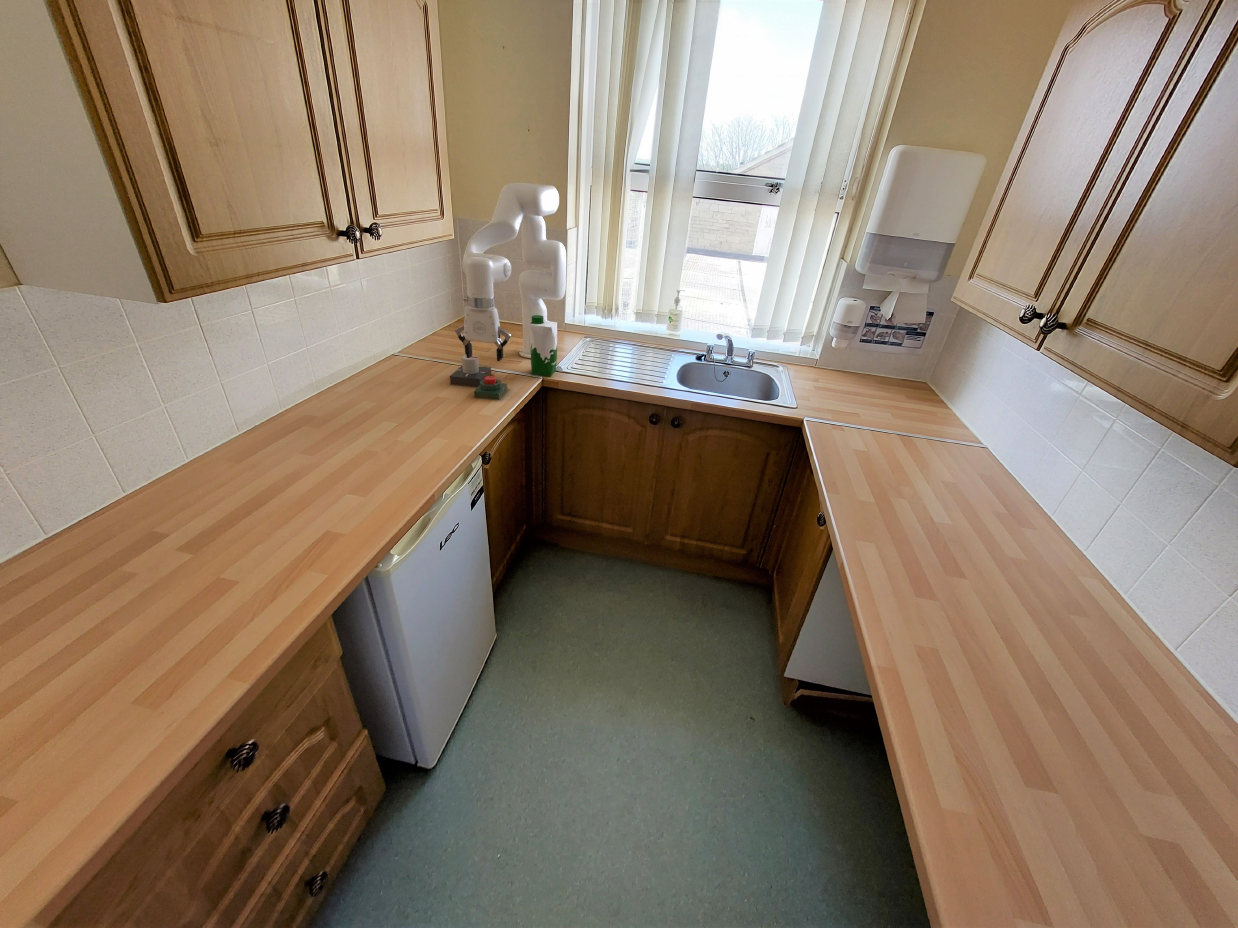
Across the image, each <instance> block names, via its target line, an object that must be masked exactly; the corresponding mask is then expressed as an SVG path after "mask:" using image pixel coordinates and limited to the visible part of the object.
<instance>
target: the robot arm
mask: <svg viewBox="0 0 1238 928" xmlns="http://www.w3.org/2000/svg"><path fill="white" fill-rule="evenodd" d="M559 205H560V195H559V192H558V190H557V188H556V186H554V185H551V184H544V183H542V184H541V183H532V182H520V181H519V182H513V183H507V184H505V185H504V186H503V187H502V188H501V190H500V193H499V195H498V199H497V202H496V205H495V208H494V211H493V213H492V217H491V220H490V222H488V223H487V224H485V225H483V226H482V227H480V228H479V229H478V230H477V231H476V232H475V233H473V235H472V236H471V237H470V238H469V240H468V242H467V244H466V247H465V250H464V254H463V256H462V262H461V263H462V265H461V266H462V271H463V273H464V275H465V278H466V292H467V293H466V294H467V295H466V296H463V297H462V299H463V302H464V303H465V302H466V303H467V305H466V306H465V309H464V317H463V318H464V320H463V325H462V326H460V327H457V328H455V329H454V333H455V334H456V336H457V337H458V340H459V341H460V342H461V343H462V345H464V355H467V358H470V357H471V356H472V355H473V345H472V342H477V343H486V344H494V345H495V346H496V347H497V348H496V350H495V351H496V362H501V361H502V360H503V359H504V347H505V346H506V345H507V344H508V343H509V341H510V339H511V337H512V334H511V333H510V332H509V331H507V330H505V329H503V328H501V323H500V317H499V311H498V309H497V306H495V294H494V293H495V291H494V283H504V282H506V281H507V280H508V279H509V278H510V277H511V274H512V264H511V261H509V259H508V258H506V257H505V256H502V255H497V254H489V253H485V252H486V251H487V250H489V249H491V248H492V247H495V246H499V245H502V244H504V243H508V242H510V241H512V240H514V239H516V237H517V236H518V235H519V234H518V233H519V230H520V229H521V231H520V232H521V256H522V261H523V263H524V264H525V265H526V266H528V267H534V268H542V269H549V270H550V272H549V271H543V270H537V269H536V270H534V269H527V270H524V271H522V272H521V273H520V274H519V277H518V288H519V289H518V290H519V293H520V299H521V300H520V301H521V322H522V323H521V324H522V327H521V328H522V348H523V349H522V348H521V349H522V350H520V349H519V350H520V351H523V352H519V351H518V354H519V355H520V356H521V357H523V358H526V359H531V344H530V327H529V325H530V323H531V322H532V316H533V315H540V316H543V319H544V321H548V309H547V306H546V304H545V302H544V301H543V300H551V301H560V300H562V299H563V298H564V297H565V294H566V288H567V250H566V247H565V245H564V244H563V242H561V241H559V240H555V239H547V234H546V231H547V229H546V226H547V225H546V222H545V220H544V219H545V218H543V217H546V216H550V215H554V214H555V213H556V212H557V210H558V209H559ZM463 333H464V334H463ZM501 336H504V339H503V340H502V339H501ZM522 354H523V355H522ZM525 355H526V356H525Z"/></svg>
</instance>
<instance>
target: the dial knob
mask: <svg viewBox="0 0 1238 928" xmlns="http://www.w3.org/2000/svg"><path fill="white" fill-rule="evenodd" d="M461 366H462V367H463V372H464V373H466V374H475V373H478V372H479V366H480V365H479V356H478V355H475V354H472V356H471V357H470V358H467V355H466V354H464V355H462V356H461Z"/></svg>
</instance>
